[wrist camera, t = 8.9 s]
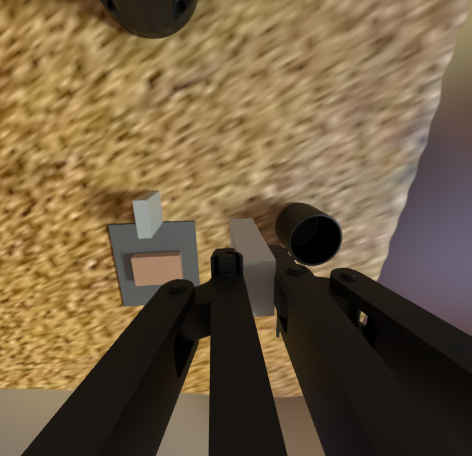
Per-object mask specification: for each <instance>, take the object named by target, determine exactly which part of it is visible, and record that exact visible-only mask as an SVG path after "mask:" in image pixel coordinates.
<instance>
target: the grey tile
mask: <svg viewBox="0 0 472 456" xmlns="http://www.w3.org/2000/svg"><path fill="white" fill-rule="evenodd" d="M132 202H133V208H134V214H135V221H136V227H137V233H138V239H143V238H152V237H153V235H154V234H155V233H156V231H157V230H158V228H159V227H160V226H161V224H162V223H163V215H162V207H161V199H160V191H148V192H146V193H145V194H143V195H141V196H140V197H138V198H136V199H135V200H133V201H132Z"/></svg>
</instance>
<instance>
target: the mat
mask: <svg viewBox="0 0 472 456" xmlns="http://www.w3.org/2000/svg"><path fill="white" fill-rule="evenodd" d="M108 227H109V232H110V237H111V242H112V247H113V252H114V257H115V262H116V267H117V272H118V277H119V282H120V287H121V292H122V297H123V302H124V307H125V306H139V305H146V304H147V303H148V301H149V300H150V299H151V298H152V296H153V295H154V294H155V293H156V292H157V290H158V289H159V288H160V287H161V286H162V285H163V284H162V285H146V286H136V285H135V279H134V274H133V268H132V262H131V257H132V256H133V255H134V254H141V253H160V252H178V251H181V258H182V268H183V277H184V278H183V279H185V280H189V281H191V282H193V284H194V287H195V286H199V285H200V283H199V270H198V257H197V244H196V232H195V221H174V222H163V223H162V224H161V226H160V227H159V228H158V230H157V231H156V233H155V234H154V235H153V237H152V238H143V239H138V233H137V227H136V223H128V224H109V225H108Z"/></svg>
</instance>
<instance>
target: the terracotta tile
mask: <svg viewBox="0 0 472 456" xmlns="http://www.w3.org/2000/svg"><path fill="white" fill-rule="evenodd" d="M131 262H132V268H133V274H134V279H135V285H136V286H146V285H162V284H164V283H167V282H169V281H171V280H175V279H183V278H184V277H183V268H182V258H181V251H178V252H160V253H141V254H134V255H133V256H132V257H131Z"/></svg>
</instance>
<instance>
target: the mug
mask: <svg viewBox="0 0 472 456" xmlns="http://www.w3.org/2000/svg"><path fill="white" fill-rule="evenodd" d="M276 234H277V236H278V238H279V240H280V241H281V242H282V244H283V245H284V246H285V249H286V251H287V252H289V253H290V254H291V257H292V259H293V260H296V261H297V262H299V263H301V264H303V265H307V266H316V265H321V264H323V263H325V262H327V261H329V260H330V259H331V258H333V257H334V256H335V255H336V253H337V252H338V250H339V248H340V246H341V243H342V230H341V227H340V225H339V223H338V222H337V221H336V220H335V219H334V218H332V217H331V216H329V215H327V214H325V213H323V212H322V211H320V210H318V209H316V208H314V207H313V206H311V205H309V204H305V203H296V204H293V205H290V206H288V207H287V208H285V209H284V210H283V211H282V212H281V213H280V215H279V217H278V219H277V222H276Z"/></svg>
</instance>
